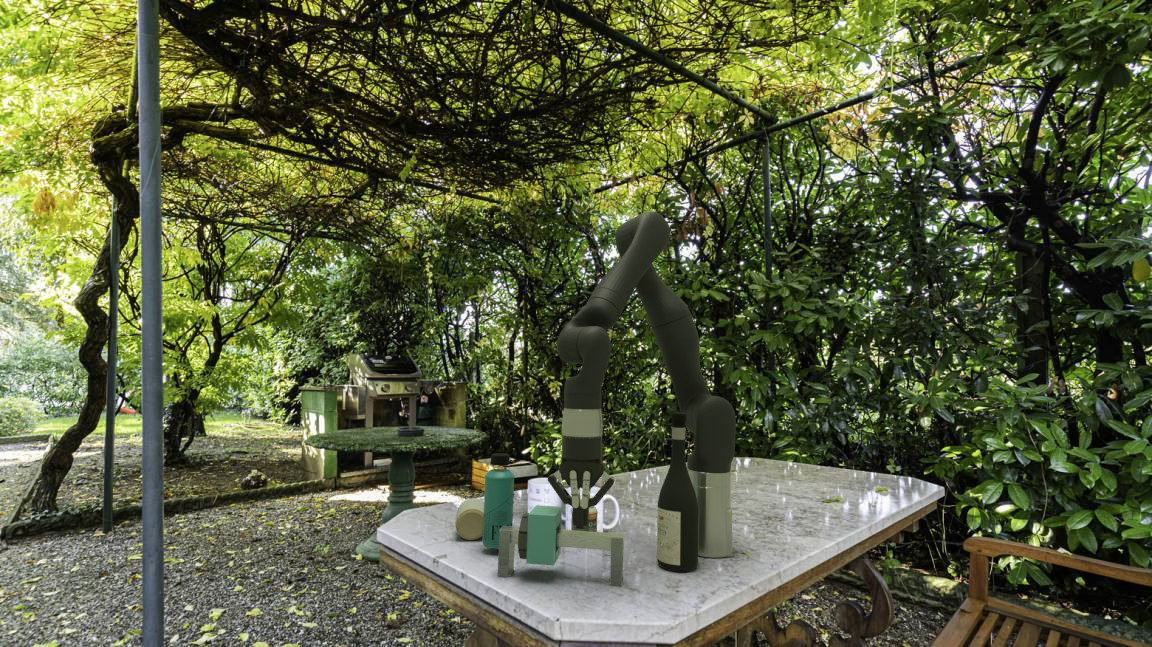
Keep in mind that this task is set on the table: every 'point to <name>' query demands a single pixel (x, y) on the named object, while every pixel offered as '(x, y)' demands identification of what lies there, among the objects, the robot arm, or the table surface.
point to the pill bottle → (592, 519)
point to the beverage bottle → (497, 500)
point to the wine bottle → (677, 508)
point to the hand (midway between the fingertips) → (580, 527)
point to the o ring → (523, 537)
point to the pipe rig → (566, 539)
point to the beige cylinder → (470, 519)
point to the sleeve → (543, 535)
